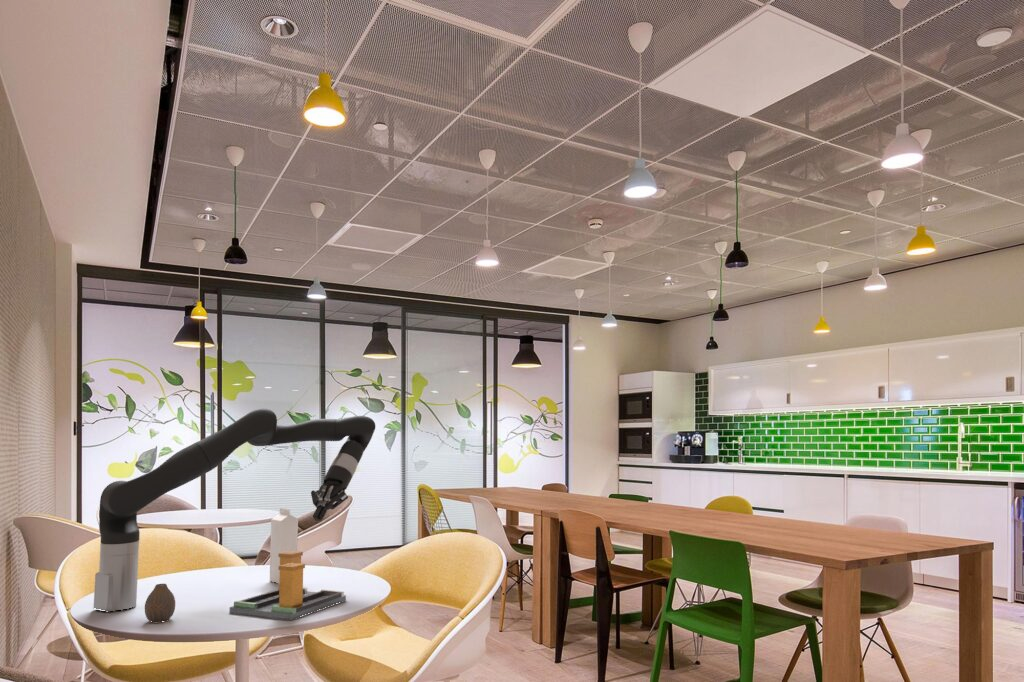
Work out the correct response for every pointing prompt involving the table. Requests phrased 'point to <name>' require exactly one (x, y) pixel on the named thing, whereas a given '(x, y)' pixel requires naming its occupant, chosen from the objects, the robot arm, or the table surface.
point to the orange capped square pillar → (289, 558)
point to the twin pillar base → (288, 598)
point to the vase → (160, 604)
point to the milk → (282, 539)
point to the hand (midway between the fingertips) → (316, 519)
